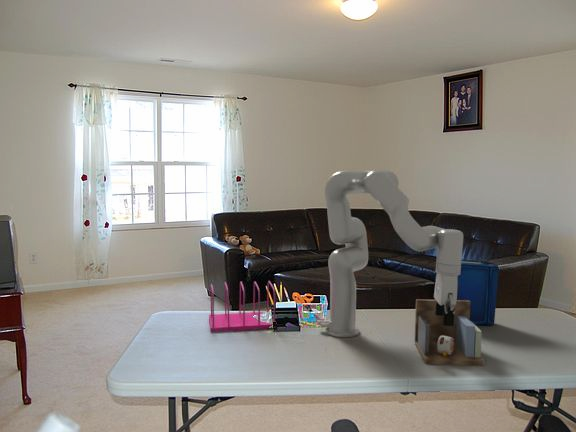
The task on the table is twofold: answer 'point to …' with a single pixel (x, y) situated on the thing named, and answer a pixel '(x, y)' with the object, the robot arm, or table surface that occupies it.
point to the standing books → (468, 337)
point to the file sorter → (239, 314)
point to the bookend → (423, 335)
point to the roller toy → (445, 345)
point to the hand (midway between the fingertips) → (444, 320)
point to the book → (479, 290)
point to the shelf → (443, 333)
